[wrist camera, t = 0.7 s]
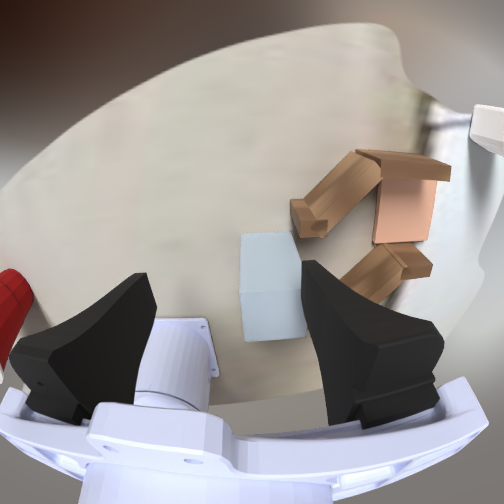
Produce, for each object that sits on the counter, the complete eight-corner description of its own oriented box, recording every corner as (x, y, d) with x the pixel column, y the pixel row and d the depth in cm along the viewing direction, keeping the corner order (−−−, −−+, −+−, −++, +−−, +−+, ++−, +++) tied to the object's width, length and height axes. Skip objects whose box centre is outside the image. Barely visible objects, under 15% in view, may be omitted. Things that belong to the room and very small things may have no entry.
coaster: (424, 237, 23) (427, 240, 22) (372, 240, 23) (374, 243, 22) (434, 171, 20) (438, 172, 19) (379, 167, 20) (382, 168, 19)
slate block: (289, 272, 24) (305, 337, 17) (244, 275, 24) (244, 341, 17) (290, 230, 22) (310, 288, 15) (241, 233, 22) (239, 292, 15)
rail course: (398, 285, 25) (417, 313, 21) (289, 296, 26) (296, 330, 22) (419, 154, 19) (451, 166, 15) (288, 148, 19) (300, 157, 15)
